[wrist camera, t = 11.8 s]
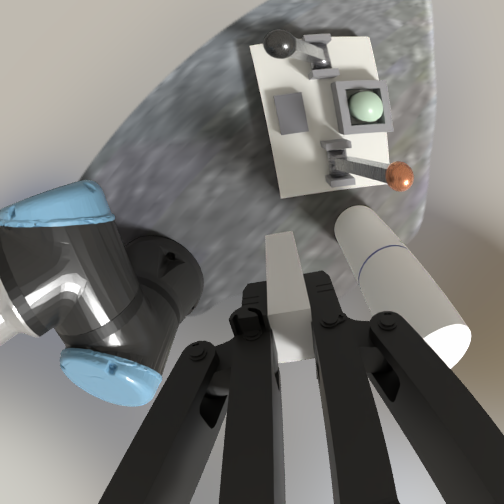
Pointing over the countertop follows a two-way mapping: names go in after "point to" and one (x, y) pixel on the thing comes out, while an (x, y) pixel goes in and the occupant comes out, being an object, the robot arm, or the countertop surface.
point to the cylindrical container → (399, 282)
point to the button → (365, 106)
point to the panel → (321, 114)
